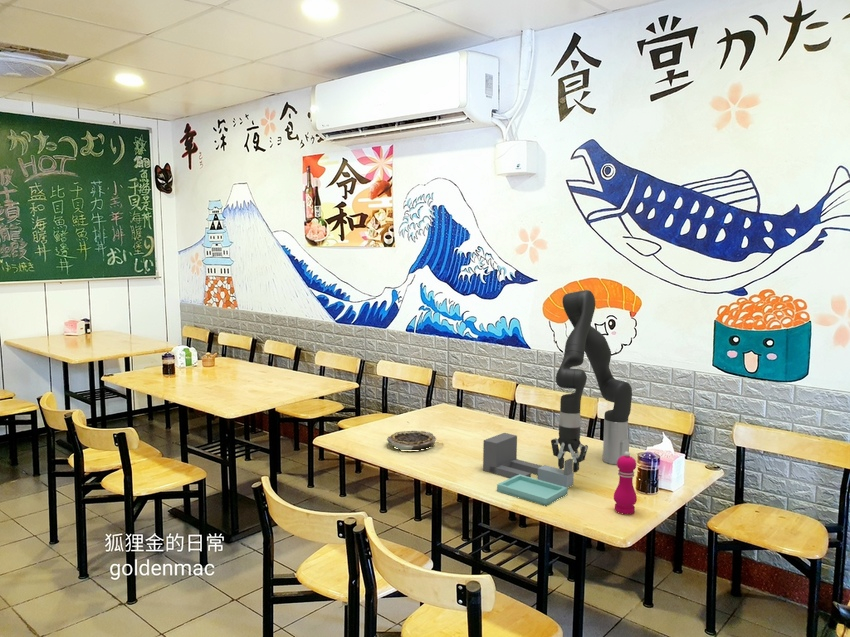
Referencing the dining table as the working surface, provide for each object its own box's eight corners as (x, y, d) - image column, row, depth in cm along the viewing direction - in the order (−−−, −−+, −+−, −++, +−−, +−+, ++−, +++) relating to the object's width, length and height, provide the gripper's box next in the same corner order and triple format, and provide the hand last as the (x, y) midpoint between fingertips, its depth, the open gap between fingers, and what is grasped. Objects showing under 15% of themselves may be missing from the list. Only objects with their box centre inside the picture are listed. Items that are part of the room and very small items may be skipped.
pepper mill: (608, 510, 215) (611, 451, 213) (620, 504, 220) (622, 446, 218) (629, 517, 210) (631, 456, 208) (640, 511, 215) (642, 451, 213)
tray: (567, 494, 229) (567, 487, 229) (546, 506, 218) (546, 498, 218) (519, 480, 242) (519, 474, 242) (497, 491, 232) (497, 484, 231)
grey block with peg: (573, 485, 238) (574, 459, 237) (566, 489, 234) (567, 462, 233) (544, 477, 246) (545, 451, 245) (537, 481, 242) (538, 455, 241)
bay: (545, 472, 251) (545, 442, 250) (524, 482, 240) (525, 450, 239) (503, 461, 263) (504, 432, 262) (483, 470, 253) (483, 440, 252)
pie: (455, 450, 280) (455, 438, 279) (400, 461, 265) (400, 449, 265) (421, 434, 303) (420, 423, 303) (368, 444, 289) (368, 432, 288)
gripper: (593, 425, 232) (591, 472, 234) (557, 418, 242) (556, 463, 243) (582, 429, 227) (581, 477, 228) (546, 422, 236) (545, 468, 238)
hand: (568, 469), depth 236 cm, fingers open, 5 cm apart
